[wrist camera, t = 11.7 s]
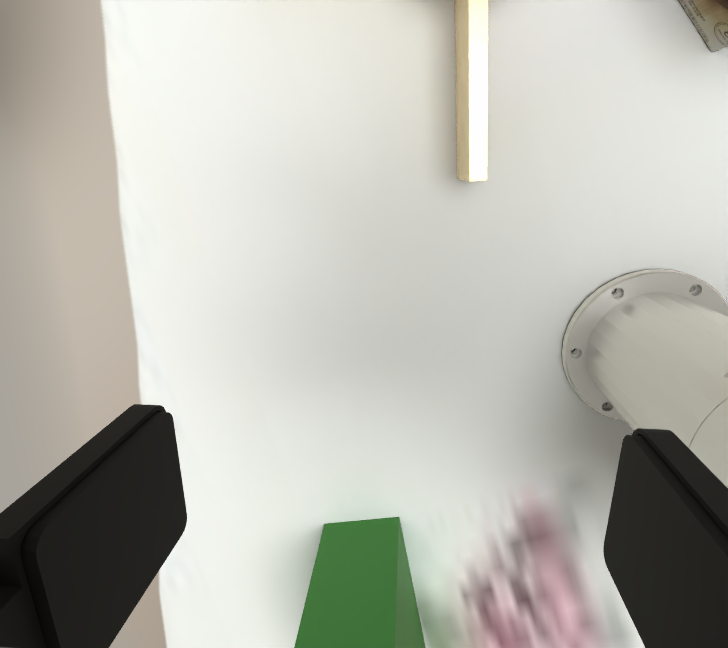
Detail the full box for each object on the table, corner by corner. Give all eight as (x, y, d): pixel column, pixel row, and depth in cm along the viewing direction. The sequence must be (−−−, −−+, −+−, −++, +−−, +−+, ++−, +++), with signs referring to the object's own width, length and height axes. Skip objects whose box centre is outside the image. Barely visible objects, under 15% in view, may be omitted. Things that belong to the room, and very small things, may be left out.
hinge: (512, -131, 30) (552, -250, 21) (506, 174, 35) (536, 177, 27) (231, -91, 32) (165, -186, 23) (267, 192, 37) (225, 199, 29)
